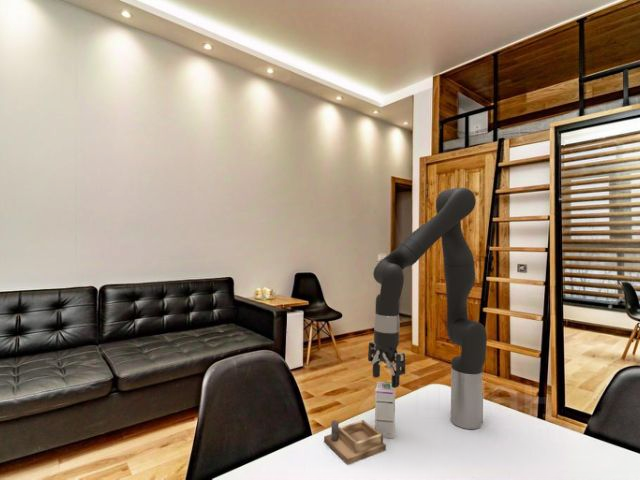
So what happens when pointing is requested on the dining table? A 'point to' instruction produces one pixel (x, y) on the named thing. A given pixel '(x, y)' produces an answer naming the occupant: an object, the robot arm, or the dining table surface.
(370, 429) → the board
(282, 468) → the dining table surface
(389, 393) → the syrup box
